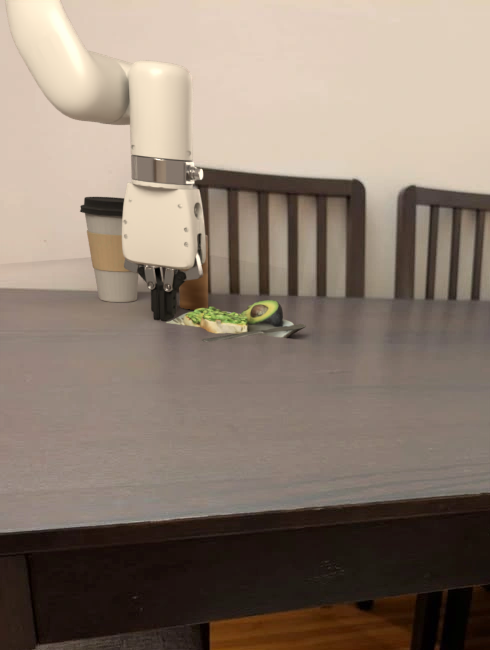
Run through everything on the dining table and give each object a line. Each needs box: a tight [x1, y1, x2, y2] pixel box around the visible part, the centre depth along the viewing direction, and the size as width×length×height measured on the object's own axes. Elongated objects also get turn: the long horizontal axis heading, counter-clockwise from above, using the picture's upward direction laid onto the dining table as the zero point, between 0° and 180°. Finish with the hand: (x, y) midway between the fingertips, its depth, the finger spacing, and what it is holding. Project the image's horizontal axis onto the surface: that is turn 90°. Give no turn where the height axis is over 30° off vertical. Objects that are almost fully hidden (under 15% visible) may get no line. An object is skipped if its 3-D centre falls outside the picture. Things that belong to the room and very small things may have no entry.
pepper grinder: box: [178, 234, 209, 311], centre depth 113 cm, size 4×4×13 cm
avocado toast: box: [165, 299, 307, 343], centre depth 97 cm, size 19×18×5 cm
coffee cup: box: [79, 196, 140, 303], centre depth 114 cm, size 9×9×15 cm
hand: (164, 318), depth 99 cm, fingers closed
